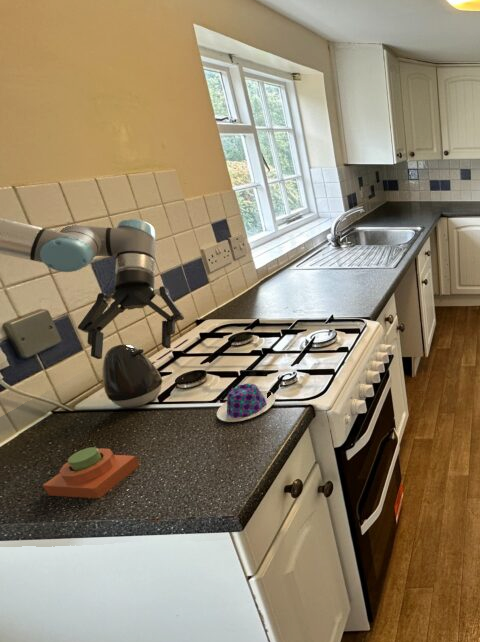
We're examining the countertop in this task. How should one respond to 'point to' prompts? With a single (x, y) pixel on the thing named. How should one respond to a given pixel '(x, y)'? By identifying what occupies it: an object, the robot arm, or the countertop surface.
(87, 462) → the button
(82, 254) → the robot arm
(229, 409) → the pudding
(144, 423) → the countertop surface
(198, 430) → the countertop surface
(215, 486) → the countertop surface
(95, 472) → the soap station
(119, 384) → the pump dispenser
